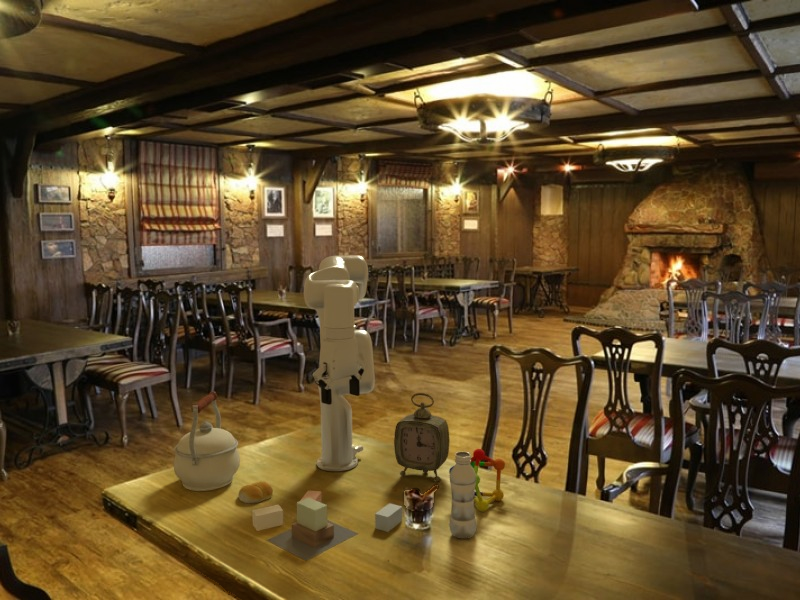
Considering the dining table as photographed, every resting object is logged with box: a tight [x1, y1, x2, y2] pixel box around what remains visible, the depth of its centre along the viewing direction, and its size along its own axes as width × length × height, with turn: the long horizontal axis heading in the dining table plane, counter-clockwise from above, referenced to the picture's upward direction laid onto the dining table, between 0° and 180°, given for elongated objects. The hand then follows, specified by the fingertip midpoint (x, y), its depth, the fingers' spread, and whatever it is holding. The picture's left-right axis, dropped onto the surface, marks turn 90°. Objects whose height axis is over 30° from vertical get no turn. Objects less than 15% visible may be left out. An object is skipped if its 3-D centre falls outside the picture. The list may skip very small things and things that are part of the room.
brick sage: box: [296, 497, 328, 531], centre depth 148 cm, size 6×4×5 cm, turn 49°
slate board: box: [266, 519, 359, 562], centre depth 149 cm, size 16×14×1 cm
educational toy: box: [448, 448, 506, 512], centre depth 168 cm, size 16×13×15 cm
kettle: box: [173, 391, 241, 492], centre depth 184 cm, size 25×18×25 cm
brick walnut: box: [291, 521, 334, 547], centre depth 148 cm, size 6×8×3 cm
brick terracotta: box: [299, 490, 323, 503], centre depth 162 cm, size 6×4×5 cm, turn 169°
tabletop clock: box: [393, 392, 451, 483], centre depth 186 cm, size 14×9×25 cm, turn 67°
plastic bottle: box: [448, 451, 478, 540], centre depth 150 cm, size 6×7×20 cm
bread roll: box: [238, 481, 274, 504], centre depth 174 cm, size 8×9×4 cm
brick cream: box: [251, 504, 284, 532], centre depth 155 cm, size 6×4×5 cm, turn 119°
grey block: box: [374, 502, 403, 533], centre depth 154 cm, size 6×4×5 cm, turn 149°
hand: (340, 399), depth 162 cm, fingers open, 9 cm apart
